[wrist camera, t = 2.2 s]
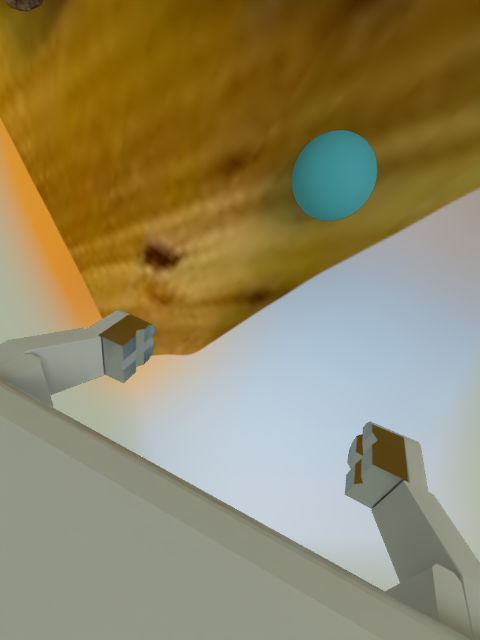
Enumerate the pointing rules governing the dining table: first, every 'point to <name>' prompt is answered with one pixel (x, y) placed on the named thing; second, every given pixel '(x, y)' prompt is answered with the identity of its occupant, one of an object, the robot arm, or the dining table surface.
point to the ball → (334, 175)
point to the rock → (24, 4)
